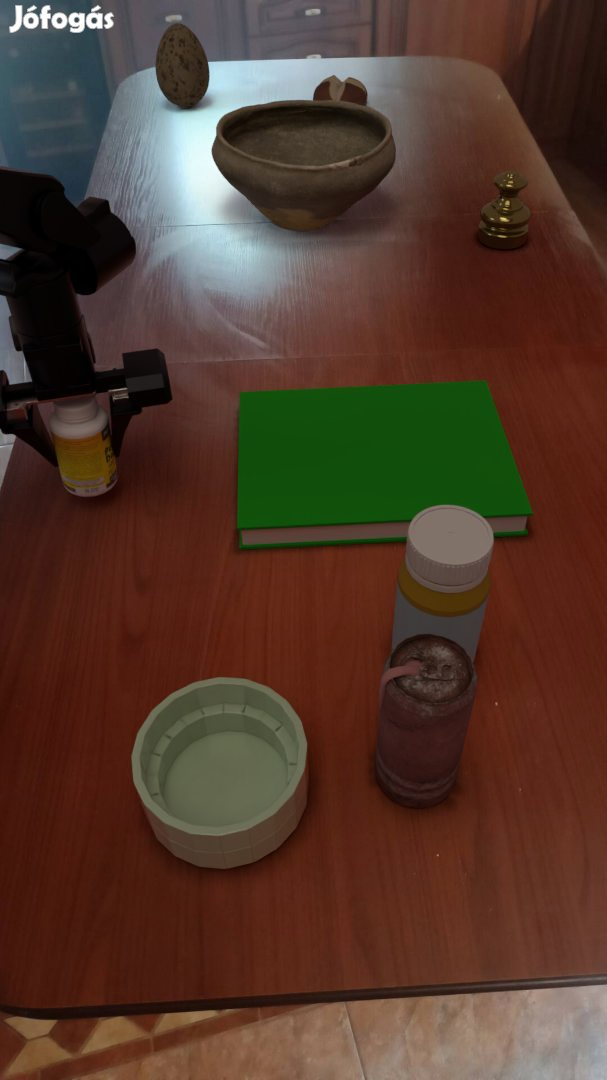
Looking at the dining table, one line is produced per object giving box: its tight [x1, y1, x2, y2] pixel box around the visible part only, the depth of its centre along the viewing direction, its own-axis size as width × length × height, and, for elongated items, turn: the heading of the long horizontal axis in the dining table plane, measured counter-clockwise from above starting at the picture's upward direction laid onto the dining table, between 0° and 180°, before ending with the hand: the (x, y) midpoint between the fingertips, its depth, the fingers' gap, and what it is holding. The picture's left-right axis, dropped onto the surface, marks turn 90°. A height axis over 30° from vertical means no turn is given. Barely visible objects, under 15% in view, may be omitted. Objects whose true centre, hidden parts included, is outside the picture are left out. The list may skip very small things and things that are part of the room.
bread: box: [312, 74, 368, 107], centre depth 163 cm, size 11×11×5 cm
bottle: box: [391, 505, 495, 664], centre depth 63 cm, size 7×7×15 cm
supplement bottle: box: [48, 394, 119, 498], centre depth 79 cm, size 6×6×10 cm
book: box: [236, 379, 534, 551], centre depth 85 cm, size 22×28×3 cm
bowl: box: [211, 99, 397, 232], centre depth 124 cm, size 28×28×14 cm
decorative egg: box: [154, 22, 211, 109], centre depth 162 cm, size 11×11×15 cm
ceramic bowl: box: [130, 676, 310, 870], centre depth 58 cm, size 12×12×6 cm
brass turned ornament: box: [477, 169, 532, 250], centre depth 118 cm, size 7×7×10 cm
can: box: [374, 633, 479, 809], centre depth 56 cm, size 6×6×14 cm
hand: (87, 459), depth 80 cm, fingers closed on supplement bottle, 6 cm apart
